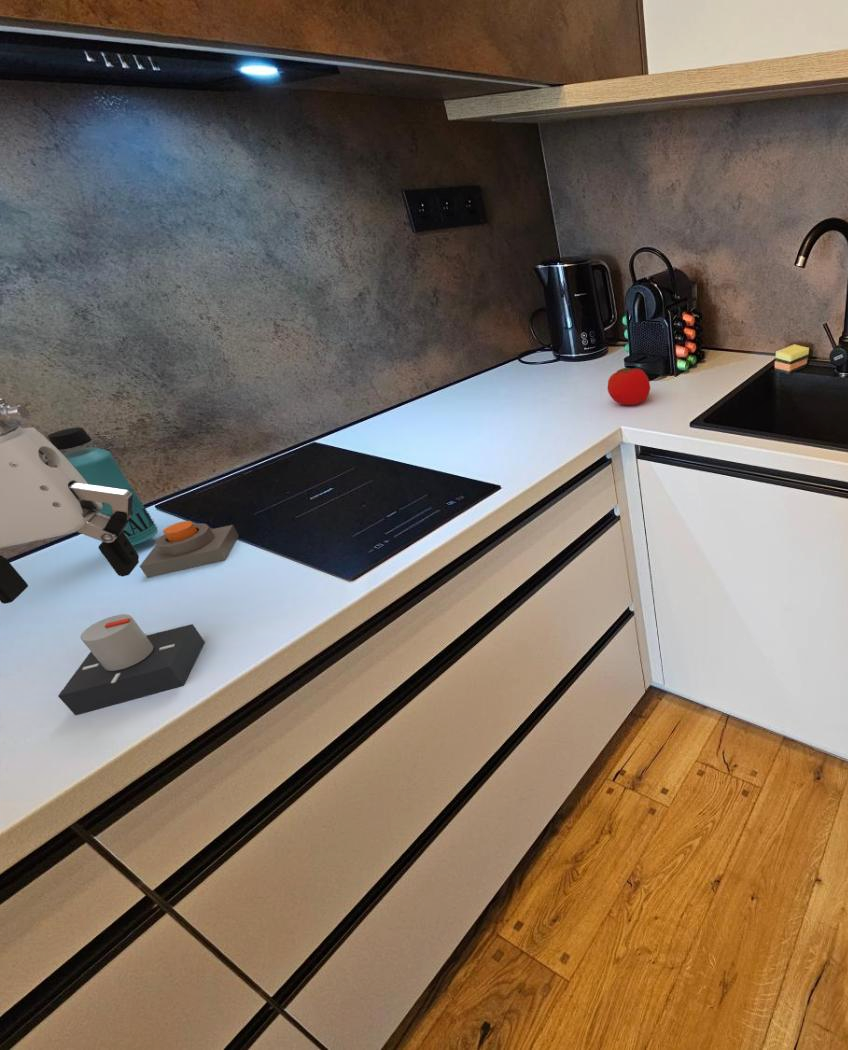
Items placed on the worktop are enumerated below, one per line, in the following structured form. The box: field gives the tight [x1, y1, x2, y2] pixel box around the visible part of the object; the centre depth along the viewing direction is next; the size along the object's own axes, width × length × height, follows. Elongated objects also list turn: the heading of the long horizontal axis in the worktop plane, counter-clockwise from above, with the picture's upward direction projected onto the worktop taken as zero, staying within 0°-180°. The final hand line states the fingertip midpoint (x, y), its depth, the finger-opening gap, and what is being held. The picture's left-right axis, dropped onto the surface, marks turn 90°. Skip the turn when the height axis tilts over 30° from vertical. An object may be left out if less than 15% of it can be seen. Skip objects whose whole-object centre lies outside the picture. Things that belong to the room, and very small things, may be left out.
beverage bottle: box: [47, 426, 158, 547], centre depth 90 cm, size 6×7×20 cm
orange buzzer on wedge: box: [139, 523, 240, 579], centre depth 90 cm, size 10×8×4 cm
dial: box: [80, 613, 153, 671], centre depth 65 cm, size 4×4×5 cm
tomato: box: [606, 367, 651, 406], centre depth 137 cm, size 9×10×8 cm
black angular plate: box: [57, 623, 206, 716], centre depth 67 cm, size 10×9×3 cm
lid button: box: [162, 520, 198, 542], centre depth 89 cm, size 4×4×2 cm
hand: (74, 582), depth 61 cm, fingers open, 9 cm apart
